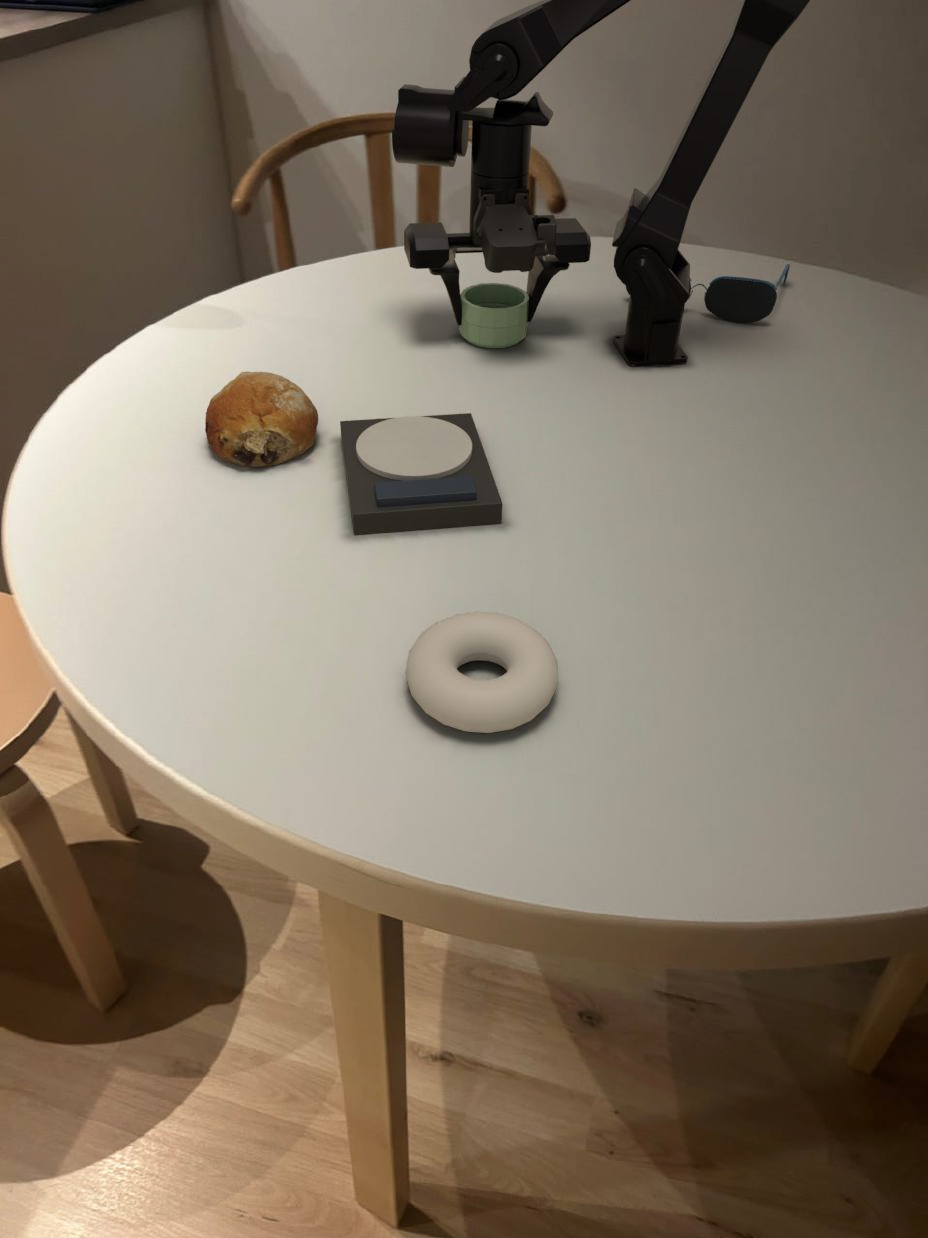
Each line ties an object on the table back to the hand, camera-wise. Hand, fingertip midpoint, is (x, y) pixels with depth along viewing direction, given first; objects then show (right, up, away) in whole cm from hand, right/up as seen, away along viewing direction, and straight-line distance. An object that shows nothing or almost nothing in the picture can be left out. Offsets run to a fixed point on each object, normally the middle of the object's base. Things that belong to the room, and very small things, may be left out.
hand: (493, 322), depth 104 cm
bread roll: (-21, -16, -17) cm, 32 cm away
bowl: (0, -1, +1) cm, 2 cm away
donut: (-2, -37, -41) cm, 55 cm away
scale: (-7, -20, -22) cm, 31 cm away
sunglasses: (+26, +7, +12) cm, 29 cm away
